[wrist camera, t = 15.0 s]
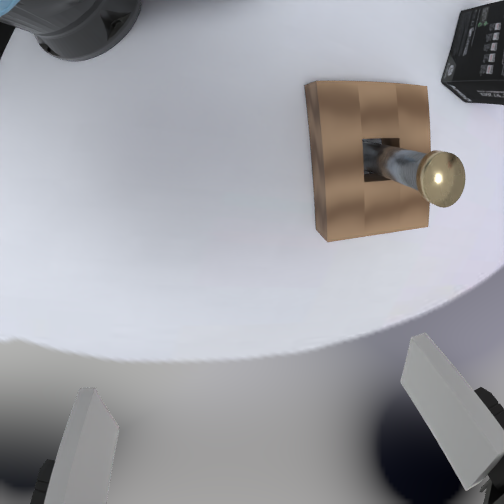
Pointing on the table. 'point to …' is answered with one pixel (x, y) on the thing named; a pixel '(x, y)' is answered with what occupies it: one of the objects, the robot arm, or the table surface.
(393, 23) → the table surface
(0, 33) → the black hard case
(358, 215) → the hole block
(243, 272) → the table surface
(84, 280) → the table surface
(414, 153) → the pin
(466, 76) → the graphics card box
